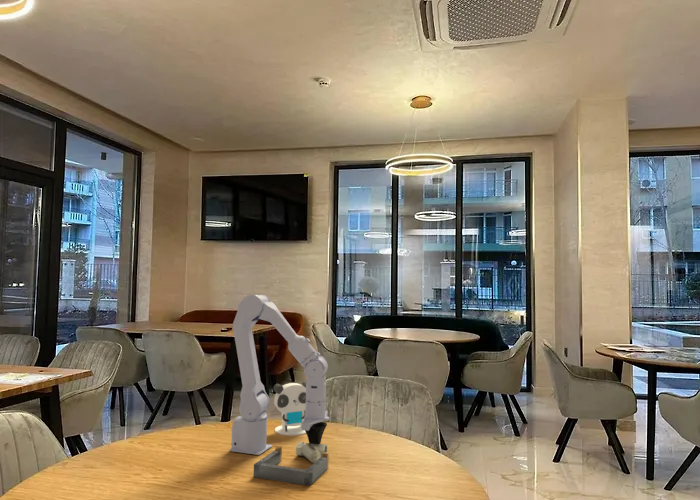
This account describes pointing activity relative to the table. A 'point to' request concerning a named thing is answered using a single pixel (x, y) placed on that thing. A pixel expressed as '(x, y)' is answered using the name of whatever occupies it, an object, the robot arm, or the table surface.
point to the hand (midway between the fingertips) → (314, 449)
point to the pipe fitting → (311, 450)
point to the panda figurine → (291, 407)
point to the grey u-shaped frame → (289, 469)
